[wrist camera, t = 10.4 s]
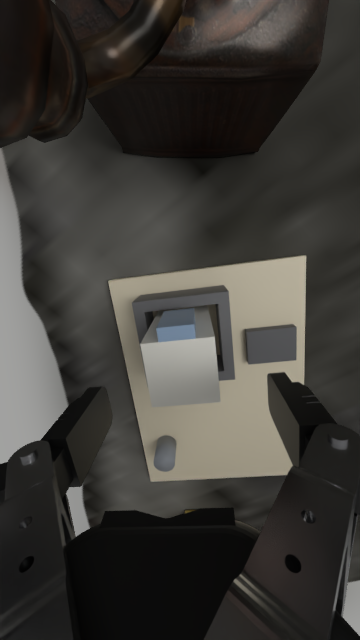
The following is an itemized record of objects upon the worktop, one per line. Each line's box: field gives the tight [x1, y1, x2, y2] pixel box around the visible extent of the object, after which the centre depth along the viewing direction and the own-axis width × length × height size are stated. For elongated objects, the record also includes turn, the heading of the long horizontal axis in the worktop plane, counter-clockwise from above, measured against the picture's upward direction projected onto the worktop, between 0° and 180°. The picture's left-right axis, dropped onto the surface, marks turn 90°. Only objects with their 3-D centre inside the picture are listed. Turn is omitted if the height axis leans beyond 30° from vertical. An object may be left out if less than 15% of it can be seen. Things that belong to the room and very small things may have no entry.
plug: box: [140, 305, 221, 407], centre depth 17 cm, size 4×5×8 cm
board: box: [108, 255, 306, 482], centre depth 22 cm, size 16×22×4 cm
